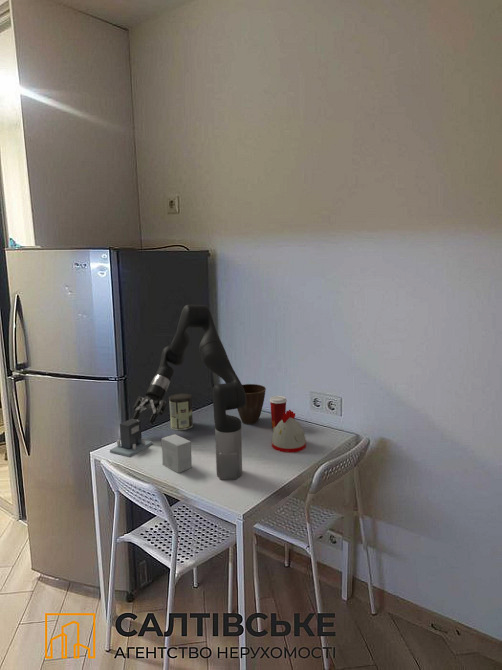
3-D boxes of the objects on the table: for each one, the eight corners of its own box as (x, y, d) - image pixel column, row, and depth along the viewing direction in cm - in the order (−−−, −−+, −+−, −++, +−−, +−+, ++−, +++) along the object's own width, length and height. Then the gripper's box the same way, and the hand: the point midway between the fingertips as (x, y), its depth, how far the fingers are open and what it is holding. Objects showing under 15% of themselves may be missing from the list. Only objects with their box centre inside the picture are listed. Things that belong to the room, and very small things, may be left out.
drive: (133, 441, 195) (131, 418, 193) (142, 443, 192) (140, 420, 191) (121, 447, 189) (119, 424, 187) (130, 449, 186) (128, 425, 185)
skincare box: (192, 467, 172) (191, 440, 170) (178, 473, 168) (177, 446, 166) (176, 459, 180) (175, 433, 178) (162, 464, 175) (160, 438, 173)
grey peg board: (133, 439, 199) (133, 431, 198) (152, 443, 194) (151, 435, 194) (109, 452, 187) (109, 444, 186) (129, 456, 182) (128, 448, 182)
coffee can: (183, 420, 221) (182, 391, 218) (197, 425, 214) (196, 396, 211) (165, 426, 213) (164, 397, 211) (179, 432, 206) (178, 401, 204)
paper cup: (290, 426, 211) (289, 396, 208) (281, 432, 204) (281, 401, 202) (274, 423, 215) (274, 394, 212) (266, 429, 208) (266, 398, 206)
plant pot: (251, 413, 228) (250, 382, 225) (272, 421, 217) (272, 388, 215) (227, 421, 218) (226, 388, 216) (249, 429, 207) (248, 395, 205)
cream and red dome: (264, 446, 190) (264, 410, 188) (285, 436, 200) (285, 402, 198) (291, 455, 181) (291, 418, 178) (312, 444, 191) (312, 409, 188)
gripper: (141, 381, 204) (124, 414, 196) (167, 385, 198) (151, 420, 190) (149, 389, 210) (133, 422, 202) (175, 393, 203) (160, 428, 196)
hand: (142, 421), depth 196 cm, fingers open, 8 cm apart
